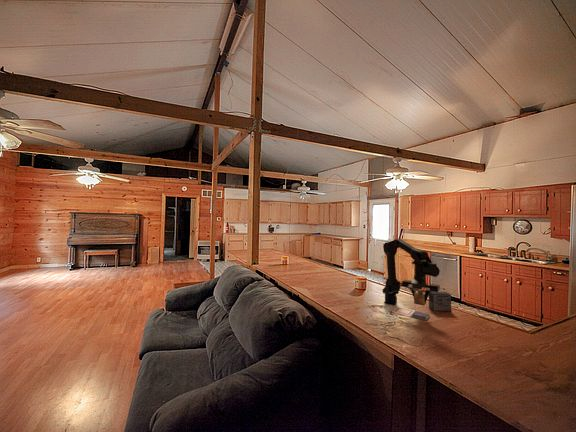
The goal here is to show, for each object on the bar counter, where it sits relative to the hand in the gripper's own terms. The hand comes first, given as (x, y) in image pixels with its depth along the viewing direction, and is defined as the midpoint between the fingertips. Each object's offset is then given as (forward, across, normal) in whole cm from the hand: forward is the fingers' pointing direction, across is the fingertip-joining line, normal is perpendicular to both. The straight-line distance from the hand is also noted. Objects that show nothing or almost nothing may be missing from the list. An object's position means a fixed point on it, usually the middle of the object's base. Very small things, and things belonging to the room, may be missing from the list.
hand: (420, 300), depth 145 cm
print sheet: (+9, -9, +2) cm, 13 cm away
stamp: (+2, 0, 0) cm, 2 cm away
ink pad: (+9, 0, 0) cm, 9 cm away
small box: (+9, +6, +20) cm, 23 cm away
